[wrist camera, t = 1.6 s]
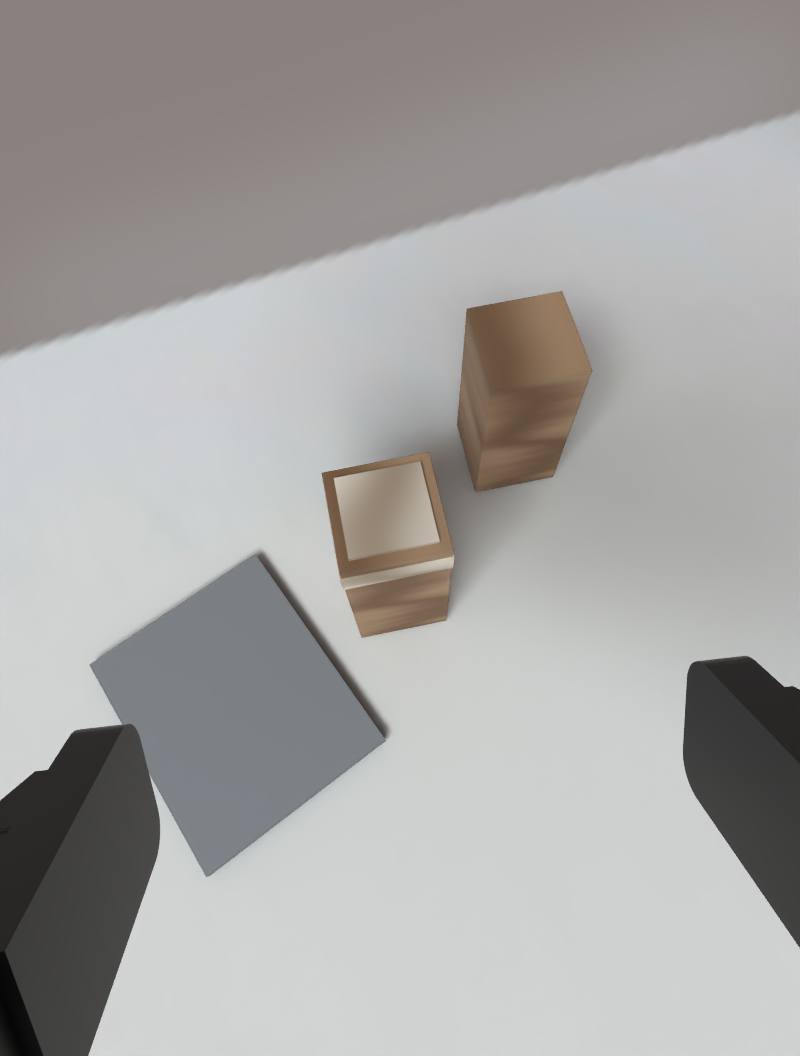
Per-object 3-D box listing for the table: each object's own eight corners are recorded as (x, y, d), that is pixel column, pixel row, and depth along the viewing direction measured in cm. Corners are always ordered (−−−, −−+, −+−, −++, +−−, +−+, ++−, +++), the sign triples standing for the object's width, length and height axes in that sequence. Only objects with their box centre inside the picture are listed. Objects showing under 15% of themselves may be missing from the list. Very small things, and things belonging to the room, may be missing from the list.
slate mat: (257, 557, 37) (255, 554, 37) (385, 740, 33) (385, 739, 33) (93, 666, 35) (89, 664, 35) (209, 875, 31) (206, 876, 31)
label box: (428, 541, 38) (429, 448, 28) (447, 621, 36) (455, 550, 26) (346, 557, 37) (319, 469, 28) (360, 638, 36) (337, 573, 26)
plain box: (530, 410, 41) (562, 291, 31) (552, 476, 39) (592, 370, 30) (457, 425, 40) (466, 308, 31) (475, 491, 39) (491, 389, 29)
